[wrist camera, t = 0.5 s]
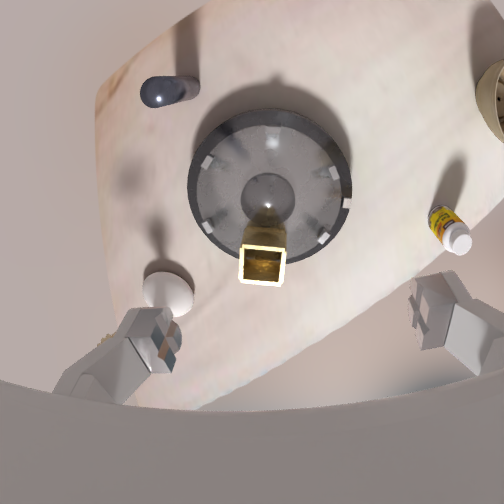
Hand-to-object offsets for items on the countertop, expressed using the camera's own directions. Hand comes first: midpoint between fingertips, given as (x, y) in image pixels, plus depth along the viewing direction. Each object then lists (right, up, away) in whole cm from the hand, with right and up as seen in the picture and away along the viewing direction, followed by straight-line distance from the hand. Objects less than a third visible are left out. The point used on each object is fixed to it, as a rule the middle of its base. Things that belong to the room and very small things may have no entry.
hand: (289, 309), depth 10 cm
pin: (-11, +28, +35) cm, 46 cm away
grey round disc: (+1, +10, +39) cm, 40 cm away
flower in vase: (-19, -6, +56) cm, 60 cm away
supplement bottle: (+34, +8, +42) cm, 54 cm away
